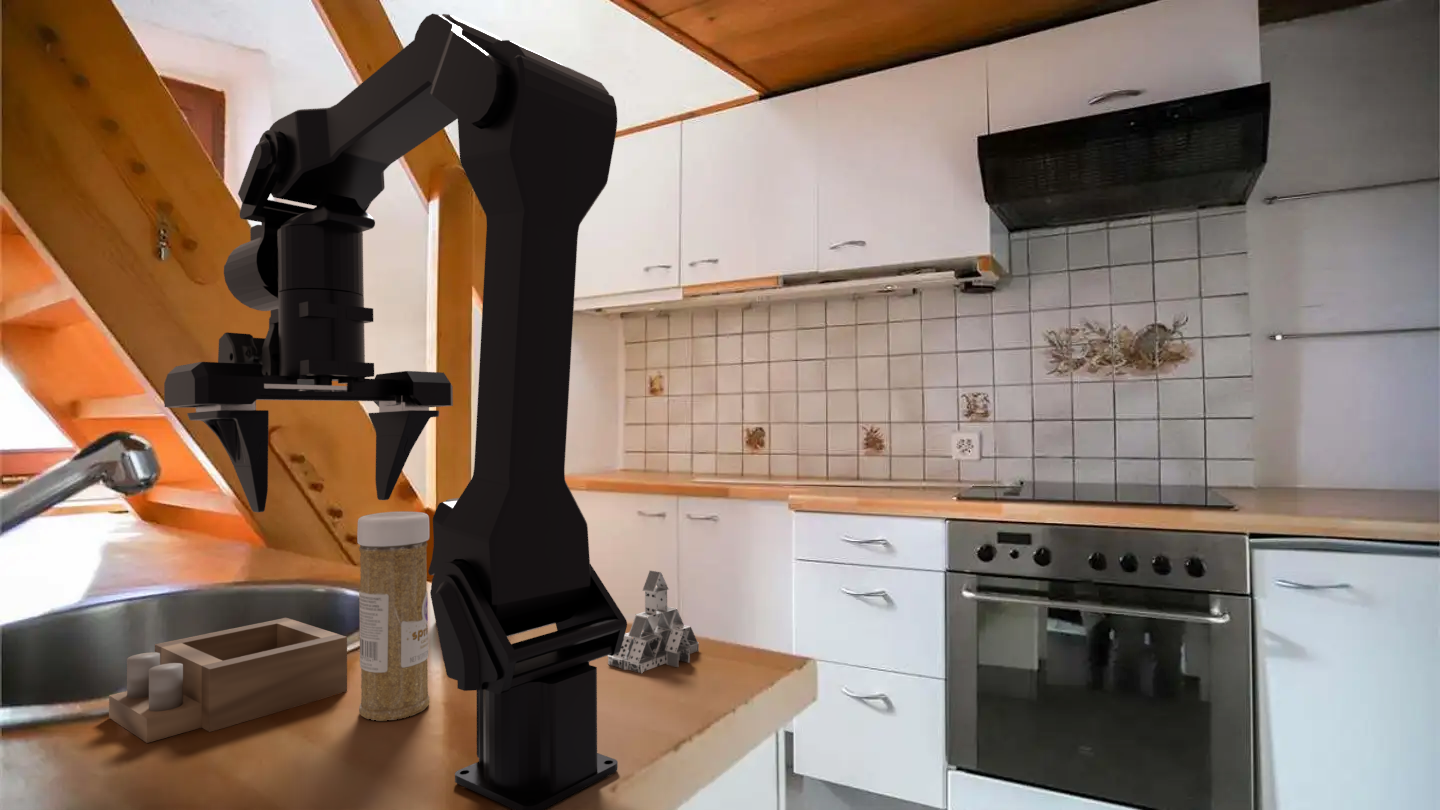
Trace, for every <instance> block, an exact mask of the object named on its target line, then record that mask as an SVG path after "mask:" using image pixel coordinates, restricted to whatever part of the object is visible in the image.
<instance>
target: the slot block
mask: <svg viewBox="0 0 1440 810" xmlns="http://www.w3.org/2000/svg"><path fill="white" fill-rule="evenodd" d="M346 691H347V692H348V636H345V635H342V634H339V633H336V632H333V631H330V630H326V629H323V628H320V627H317V626H314V625H310V624H308V623H305V622H301V621H298V620H295V619H292V618H288V617H282V618H278V619H273V620H269V621H264V622H258V623H253V624H249V625H248V624H247V625H243V626H239V627H235V628H234V627H233V628H229V629H223V630H218V631H214V632H209V633H204V634H199V635H194V636H190V637H184V638H180V639H174V640H169V641H165V642H158V643H156V644H154V651H153V652H144V653H138V654H133V655H131V656H129V657H127V658H126V691H121V692H118V693H113V694H109V696H108V719H110V720H111V721H114V722H115V723H116V724H117V725H119V726H121V728H124V729H126V730H127V731H128V732H129V733H131V734H132V735H134V736H136V737H137V738H138V739H140V740H141V741H143V742H144V743H146V744H148V743H152V742H156V741H159V740H163V739H166V738H170V737H174V736H177V735H179V734H180V735H181V734H183V733H188V732H190V731H195V730H198V729H204V731H207V732H208V733H211V732H214V731H215V732H216V731H218V730H221V729H225V728H228V727H231V726H235V725H238V724H242V723H245V722H248V721H251V720H255V719H258V718H262V717H266V716H269V715H272V714H277V713H280V712H283V711H286V710H290V709H294V708H298V707H299V706H300V707H301V706H303V705H306V704H310V703H313V702H316V701H319V700H322V699H326V698H330V697H333V696H332V695H334V696H336V695H335V694H337V695H340V694H343V693H342V692H344V693H346ZM339 693H340V694H339Z"/></svg>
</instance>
